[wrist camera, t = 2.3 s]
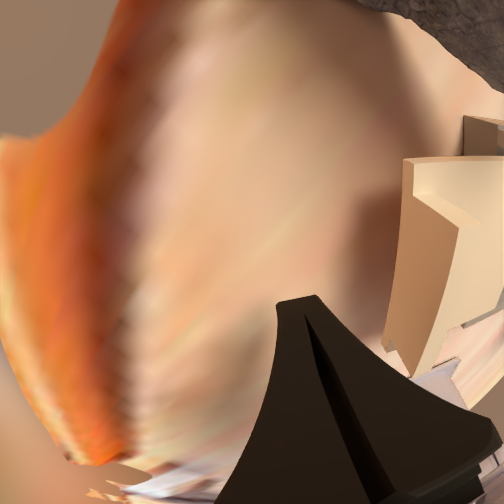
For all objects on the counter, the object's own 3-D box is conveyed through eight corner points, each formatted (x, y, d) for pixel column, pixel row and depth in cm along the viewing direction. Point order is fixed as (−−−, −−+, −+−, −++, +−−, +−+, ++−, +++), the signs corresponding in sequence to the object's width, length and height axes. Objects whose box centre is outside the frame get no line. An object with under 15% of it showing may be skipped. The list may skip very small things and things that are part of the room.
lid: (488, 301, 13) (516, 334, 10) (381, 343, 13) (405, 391, 10) (523, 156, 8) (569, 180, 6) (402, 158, 8) (464, 190, 6)
